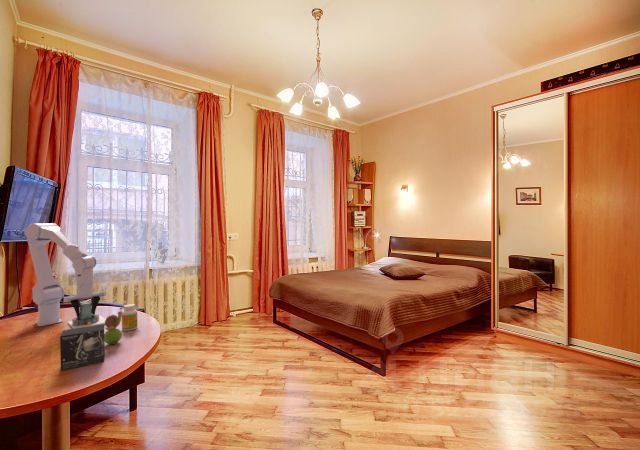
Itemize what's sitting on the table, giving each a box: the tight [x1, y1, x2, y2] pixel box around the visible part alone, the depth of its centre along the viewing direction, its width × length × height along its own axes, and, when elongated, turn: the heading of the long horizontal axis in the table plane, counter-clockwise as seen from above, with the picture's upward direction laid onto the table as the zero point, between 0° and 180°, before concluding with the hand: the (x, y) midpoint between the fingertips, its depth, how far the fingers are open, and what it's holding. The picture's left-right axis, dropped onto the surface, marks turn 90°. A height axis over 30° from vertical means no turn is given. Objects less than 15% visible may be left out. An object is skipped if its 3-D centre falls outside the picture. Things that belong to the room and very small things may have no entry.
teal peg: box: [79, 302, 92, 320], centre depth 134 cm, size 4×5×8 cm
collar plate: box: [67, 314, 107, 329], centre depth 135 cm, size 15×12×3 cm
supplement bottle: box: [121, 303, 138, 332], centre depth 126 cm, size 5×5×10 cm
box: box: [59, 324, 106, 372], centre depth 96 cm, size 11×7×10 cm, turn 123°
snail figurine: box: [104, 307, 124, 345], centre depth 111 cm, size 5×6×12 cm
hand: (85, 315), depth 134 cm, fingers open, 5 cm apart
